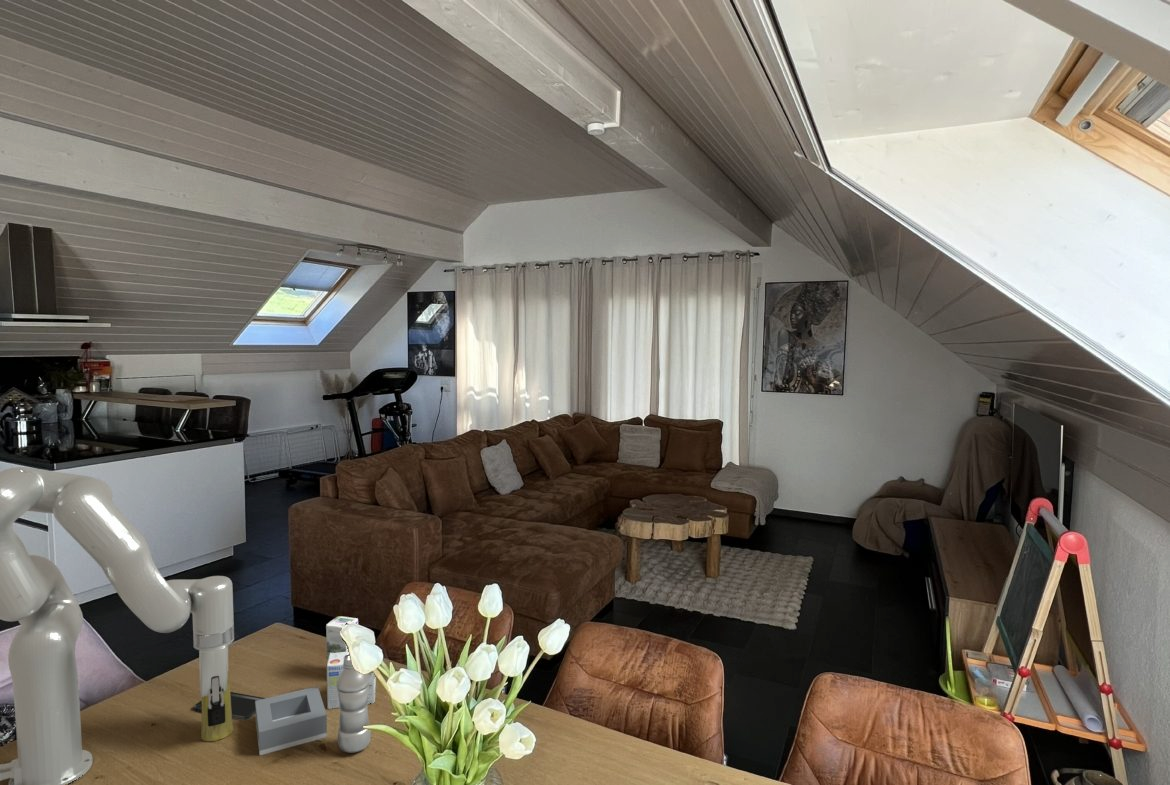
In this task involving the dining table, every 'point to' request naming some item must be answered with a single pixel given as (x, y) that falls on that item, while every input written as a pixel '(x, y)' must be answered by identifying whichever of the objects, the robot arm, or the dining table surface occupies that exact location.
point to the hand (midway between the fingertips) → (216, 715)
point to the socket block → (290, 720)
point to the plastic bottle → (353, 708)
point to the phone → (238, 706)
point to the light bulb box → (332, 675)
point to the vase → (221, 729)
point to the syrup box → (336, 635)
